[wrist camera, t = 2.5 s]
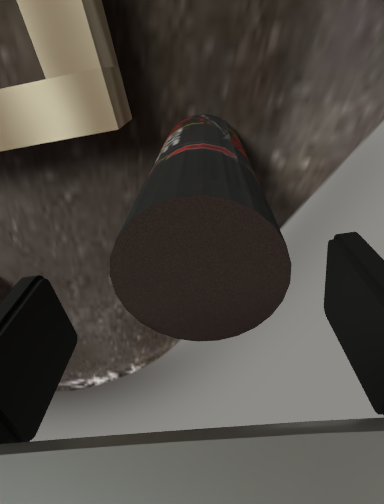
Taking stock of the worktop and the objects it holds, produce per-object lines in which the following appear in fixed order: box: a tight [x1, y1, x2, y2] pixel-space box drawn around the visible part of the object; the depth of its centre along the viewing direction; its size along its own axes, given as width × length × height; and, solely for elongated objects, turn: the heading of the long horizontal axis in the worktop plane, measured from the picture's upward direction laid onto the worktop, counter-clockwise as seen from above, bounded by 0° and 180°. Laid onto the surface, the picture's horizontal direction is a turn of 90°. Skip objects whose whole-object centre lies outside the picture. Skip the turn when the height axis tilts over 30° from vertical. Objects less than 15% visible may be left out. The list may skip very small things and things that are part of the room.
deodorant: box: [110, 115, 291, 341], centre depth 16 cm, size 6×6×15 cm
